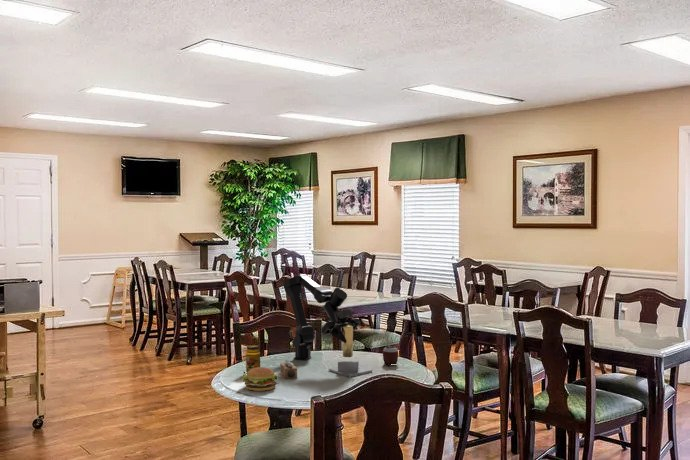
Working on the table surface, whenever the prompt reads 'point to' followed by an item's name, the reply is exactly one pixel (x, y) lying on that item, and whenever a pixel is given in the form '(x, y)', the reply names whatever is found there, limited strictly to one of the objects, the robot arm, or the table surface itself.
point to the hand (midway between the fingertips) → (349, 341)
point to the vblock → (350, 368)
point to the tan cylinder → (348, 341)
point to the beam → (288, 371)
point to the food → (260, 379)
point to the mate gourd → (390, 354)
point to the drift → (288, 363)
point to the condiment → (252, 357)
